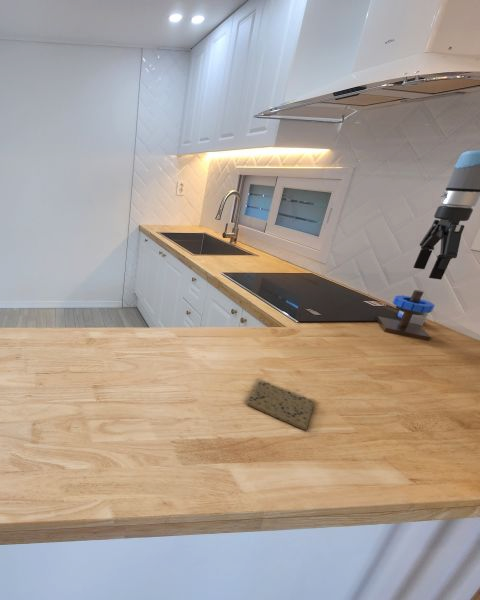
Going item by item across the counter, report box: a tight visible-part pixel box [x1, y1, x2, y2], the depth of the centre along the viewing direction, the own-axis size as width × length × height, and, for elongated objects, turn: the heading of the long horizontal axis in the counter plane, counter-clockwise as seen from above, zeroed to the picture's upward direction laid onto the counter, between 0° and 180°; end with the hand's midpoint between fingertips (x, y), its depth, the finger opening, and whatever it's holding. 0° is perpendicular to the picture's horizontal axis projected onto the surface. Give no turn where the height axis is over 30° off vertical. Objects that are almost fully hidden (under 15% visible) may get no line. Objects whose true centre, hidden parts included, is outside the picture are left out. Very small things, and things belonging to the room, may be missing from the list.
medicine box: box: [397, 310, 429, 327], centre depth 128 cm, size 8×4×9 cm, turn 164°
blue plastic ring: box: [392, 295, 436, 314], centre depth 118 cm, size 10×10×2 cm
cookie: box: [246, 380, 315, 431], centre depth 77 cm, size 12×12×1 cm
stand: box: [375, 289, 431, 342], centre depth 119 cm, size 12×12×15 cm
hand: (426, 273), depth 110 cm, fingers open, 13 cm apart
